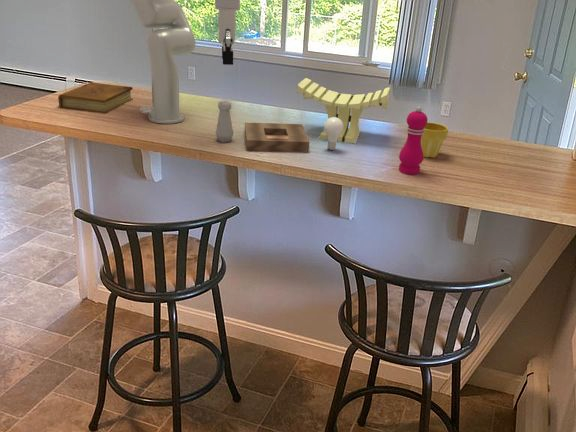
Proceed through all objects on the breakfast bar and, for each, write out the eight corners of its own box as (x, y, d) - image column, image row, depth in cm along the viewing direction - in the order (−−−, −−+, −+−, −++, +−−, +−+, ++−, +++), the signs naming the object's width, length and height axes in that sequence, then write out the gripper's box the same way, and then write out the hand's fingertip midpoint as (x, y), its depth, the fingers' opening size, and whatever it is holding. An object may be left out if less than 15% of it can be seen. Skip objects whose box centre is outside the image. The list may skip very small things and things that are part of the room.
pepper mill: (394, 166, 178) (403, 102, 170) (417, 167, 179) (427, 103, 170) (400, 174, 172) (410, 109, 163) (423, 175, 172) (435, 110, 164)
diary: (90, 96, 235) (89, 82, 233) (133, 101, 233) (132, 87, 230) (59, 109, 215) (57, 93, 212) (105, 114, 212) (104, 99, 210)
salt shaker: (234, 138, 194) (235, 100, 188) (231, 143, 189) (232, 104, 183) (217, 137, 194) (217, 99, 189) (213, 142, 189) (214, 103, 183)
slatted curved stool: (384, 134, 209) (390, 85, 202) (379, 147, 195) (386, 95, 188) (303, 124, 215) (307, 76, 207) (294, 135, 201) (297, 84, 193)
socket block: (246, 150, 183) (246, 139, 182) (244, 132, 201) (244, 121, 200) (308, 152, 185) (309, 141, 184) (301, 133, 203) (301, 123, 202)
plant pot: (442, 151, 195) (447, 123, 191) (444, 161, 186) (449, 132, 182) (411, 148, 196) (415, 120, 192) (411, 157, 187) (416, 128, 183)
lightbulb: (343, 148, 191) (346, 116, 186) (338, 154, 185) (341, 121, 181) (324, 145, 193) (327, 113, 188) (319, 151, 187) (322, 118, 183)
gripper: (214, 1, 182) (215, 57, 189) (215, 6, 167) (215, 66, 174) (238, 2, 183) (238, 57, 190) (241, 7, 168) (240, 66, 175)
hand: (227, 61), depth 182 cm, fingers open, 9 cm apart
